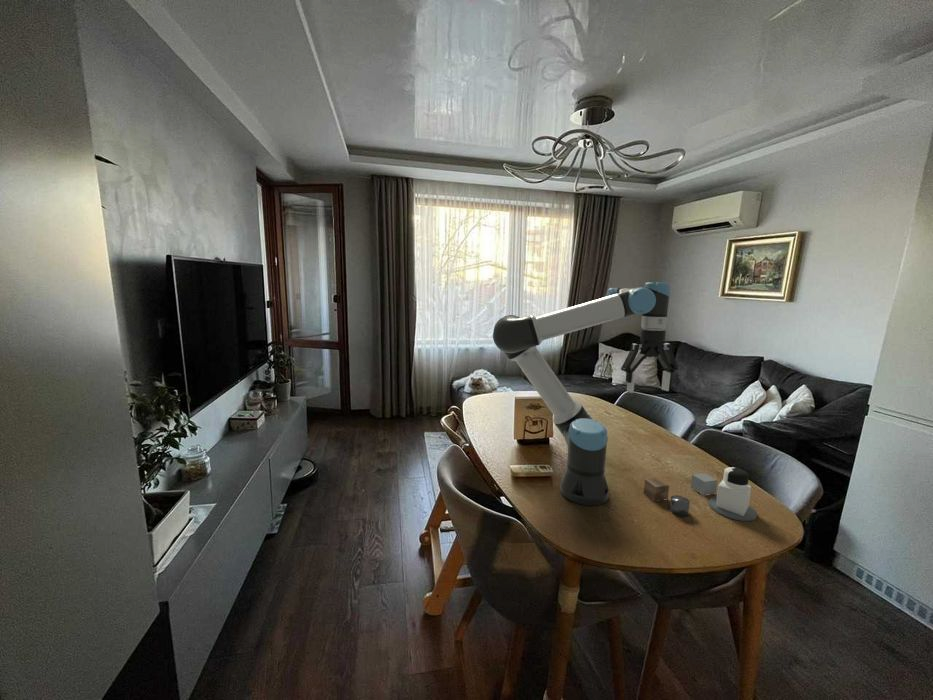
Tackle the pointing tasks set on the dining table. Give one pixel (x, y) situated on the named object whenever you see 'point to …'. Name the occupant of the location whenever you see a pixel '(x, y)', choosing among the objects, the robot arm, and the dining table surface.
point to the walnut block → (656, 489)
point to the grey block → (703, 483)
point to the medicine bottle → (734, 491)
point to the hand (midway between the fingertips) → (647, 391)
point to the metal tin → (679, 505)
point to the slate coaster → (748, 516)
